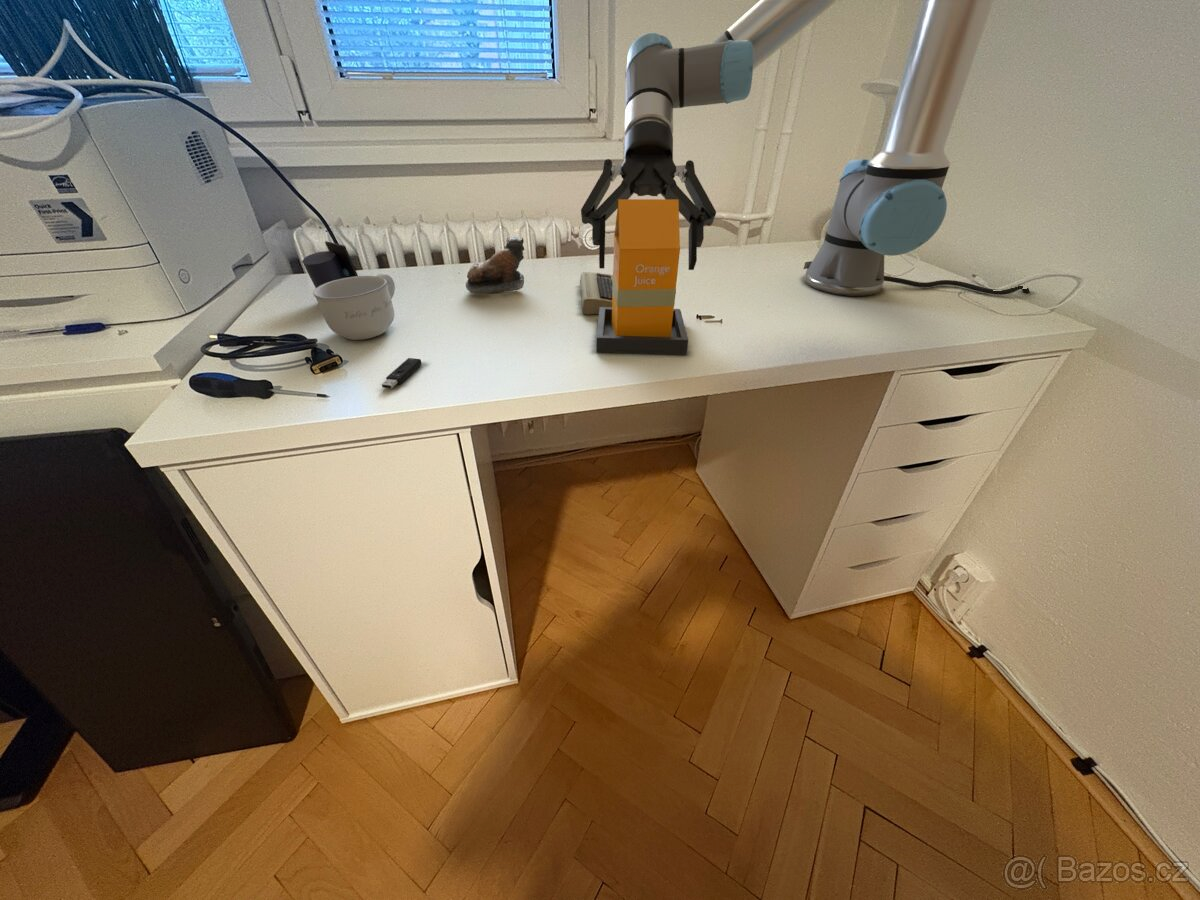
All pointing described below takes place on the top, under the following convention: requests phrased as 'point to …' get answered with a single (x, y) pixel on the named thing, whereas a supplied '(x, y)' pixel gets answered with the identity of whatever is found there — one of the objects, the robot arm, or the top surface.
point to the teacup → (357, 305)
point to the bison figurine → (498, 271)
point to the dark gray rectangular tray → (640, 338)
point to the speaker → (329, 264)
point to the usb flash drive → (402, 372)
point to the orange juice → (645, 267)
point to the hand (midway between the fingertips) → (647, 264)
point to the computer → (595, 291)
